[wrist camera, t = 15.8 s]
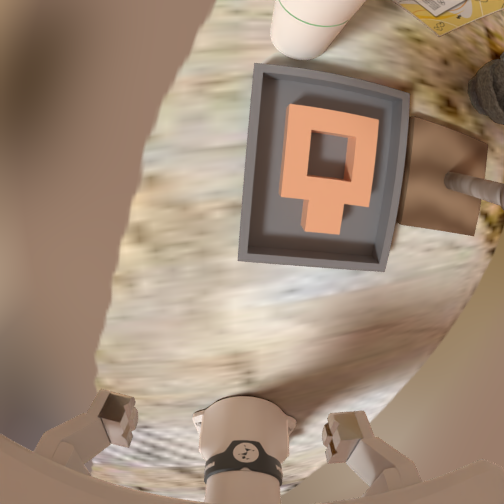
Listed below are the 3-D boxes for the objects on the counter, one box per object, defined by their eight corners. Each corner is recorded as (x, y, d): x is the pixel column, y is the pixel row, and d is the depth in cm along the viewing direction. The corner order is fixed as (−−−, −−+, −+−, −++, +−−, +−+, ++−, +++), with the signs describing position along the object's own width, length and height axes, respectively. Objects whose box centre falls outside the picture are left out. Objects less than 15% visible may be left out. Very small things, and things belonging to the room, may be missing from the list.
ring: (355, 230, 35) (363, 237, 32) (275, 222, 35) (277, 229, 32) (369, 121, 31) (378, 119, 28) (286, 107, 30) (289, 103, 28)
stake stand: (468, 233, 36) (529, 267, 23) (395, 221, 35) (457, 259, 22) (481, 143, 31) (549, 152, 18) (409, 117, 31) (479, 110, 18)
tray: (374, 261, 37) (384, 271, 34) (239, 250, 37) (237, 261, 34) (397, 97, 30) (409, 93, 27) (254, 71, 30) (254, 63, 26)
